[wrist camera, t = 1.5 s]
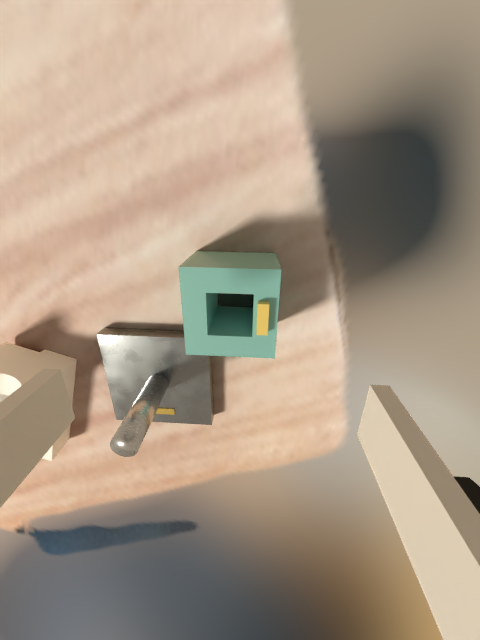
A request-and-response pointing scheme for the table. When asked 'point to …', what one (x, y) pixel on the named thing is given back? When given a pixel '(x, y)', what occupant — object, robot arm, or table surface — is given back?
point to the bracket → (22, 364)
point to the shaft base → (157, 359)
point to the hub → (230, 322)
